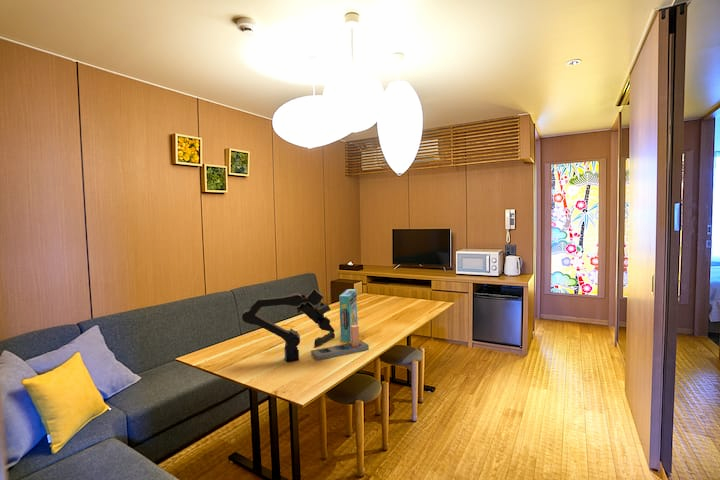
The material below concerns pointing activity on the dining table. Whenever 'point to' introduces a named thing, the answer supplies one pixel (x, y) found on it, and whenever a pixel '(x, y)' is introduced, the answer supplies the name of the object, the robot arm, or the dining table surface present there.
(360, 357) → the dining table surface
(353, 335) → the peg
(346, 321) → the game box
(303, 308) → the robot arm
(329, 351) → the rail
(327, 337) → the hand tool
